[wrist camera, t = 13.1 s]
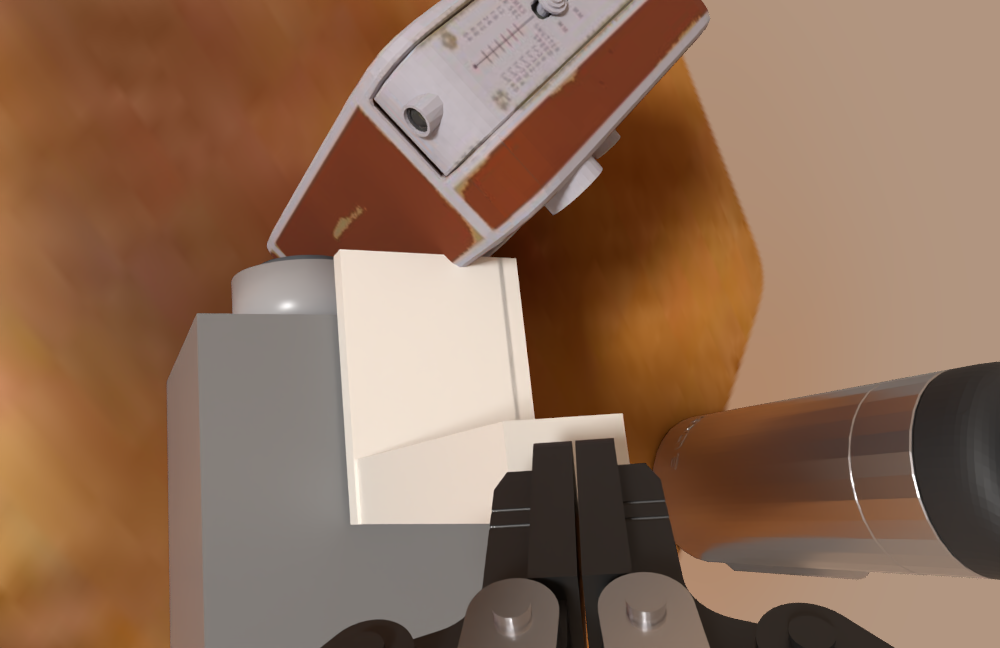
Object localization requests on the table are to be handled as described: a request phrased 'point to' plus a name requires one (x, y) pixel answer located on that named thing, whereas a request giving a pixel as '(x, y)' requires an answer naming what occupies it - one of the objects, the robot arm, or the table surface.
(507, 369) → the grooved cream block
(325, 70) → the table surface
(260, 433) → the camera housing
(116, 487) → the table surface
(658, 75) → the brown boxy piece
